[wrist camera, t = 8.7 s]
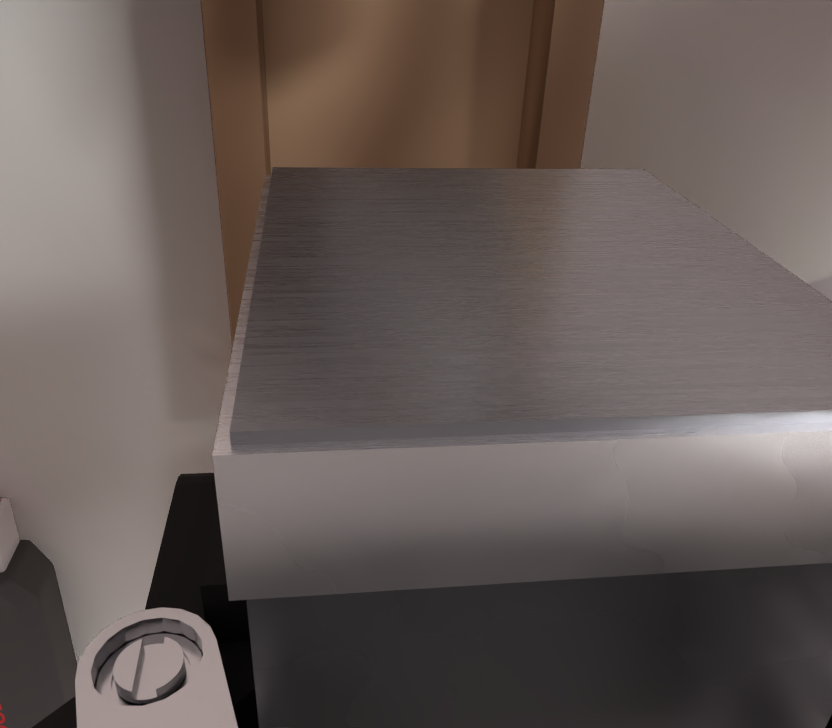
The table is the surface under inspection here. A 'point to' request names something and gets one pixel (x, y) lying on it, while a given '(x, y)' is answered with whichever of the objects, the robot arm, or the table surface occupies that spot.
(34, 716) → the usb drive
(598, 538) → the block
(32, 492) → the table surface
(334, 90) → the coupling rig
